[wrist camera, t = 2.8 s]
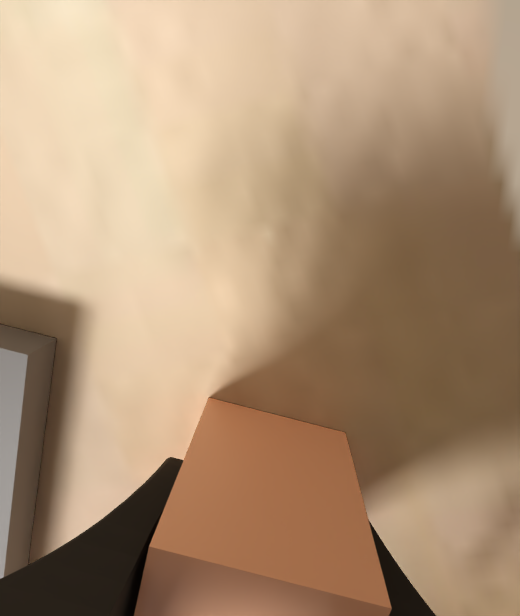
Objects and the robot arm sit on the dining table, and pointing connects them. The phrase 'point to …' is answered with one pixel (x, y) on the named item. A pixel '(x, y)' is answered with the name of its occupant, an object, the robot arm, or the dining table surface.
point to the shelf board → (21, 437)
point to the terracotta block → (263, 525)
